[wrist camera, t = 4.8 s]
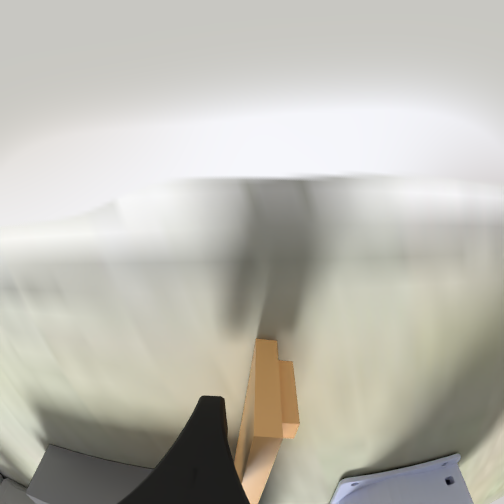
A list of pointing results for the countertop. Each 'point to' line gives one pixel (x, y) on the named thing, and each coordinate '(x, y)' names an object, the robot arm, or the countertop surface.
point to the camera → (13, 492)
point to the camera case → (82, 479)
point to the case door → (265, 417)
